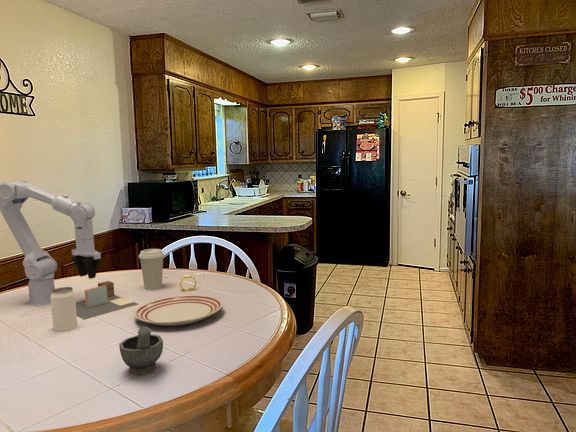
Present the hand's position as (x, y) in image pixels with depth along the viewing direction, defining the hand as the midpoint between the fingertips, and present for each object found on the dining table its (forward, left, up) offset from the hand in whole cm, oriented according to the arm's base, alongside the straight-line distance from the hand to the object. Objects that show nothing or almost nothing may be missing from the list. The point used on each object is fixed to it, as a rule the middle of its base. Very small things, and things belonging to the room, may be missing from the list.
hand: (87, 276), depth 155 cm
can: (+19, -16, -10) cm, 26 cm away
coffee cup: (+3, +24, -10) cm, 26 cm away
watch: (+16, +31, -10) cm, 36 cm away
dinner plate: (+37, +12, -10) cm, 40 cm away
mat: (+7, 0, -9) cm, 11 cm away
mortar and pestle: (+62, -16, -10) cm, 64 cm away
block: (-1, +7, -9) cm, 11 cm away
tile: (+6, 0, -9) cm, 11 cm away
